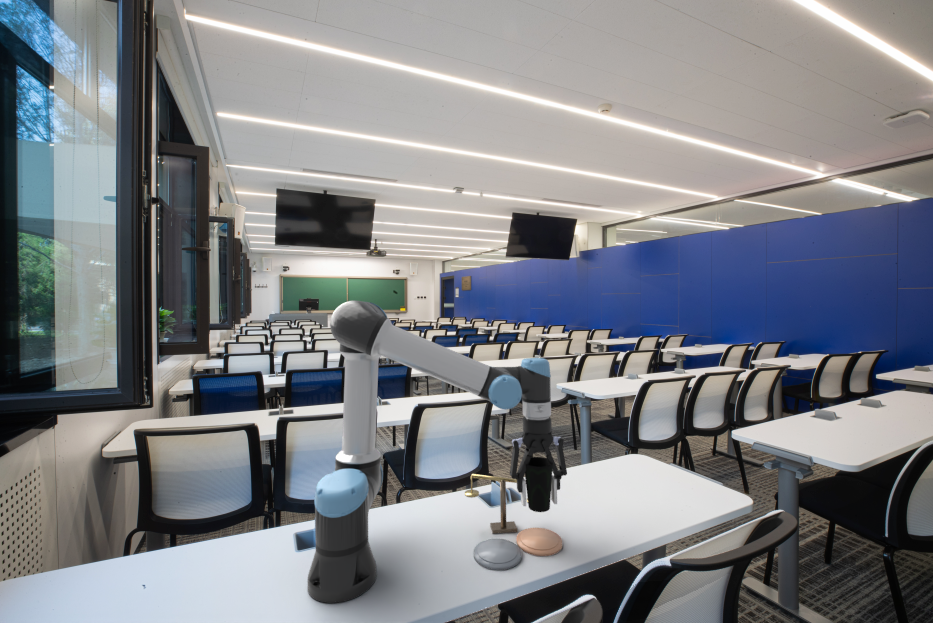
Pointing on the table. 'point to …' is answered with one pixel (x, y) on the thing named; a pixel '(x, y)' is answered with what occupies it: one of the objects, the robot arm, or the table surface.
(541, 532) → the dish far
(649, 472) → the table surface
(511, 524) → the balance
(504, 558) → the dish near
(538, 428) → the robot arm
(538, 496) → the cup
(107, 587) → the table surface
